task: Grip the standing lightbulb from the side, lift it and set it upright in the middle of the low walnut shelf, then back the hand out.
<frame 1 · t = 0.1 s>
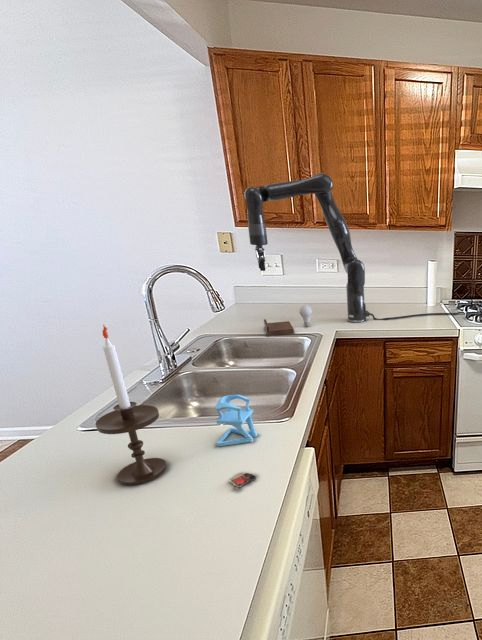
hand: (262, 269, 189), 29 cm above the table, tool pointing down, fingers open, 8 cm apart
candlestick: (143, 473, 90), on the table
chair: (239, 439, 104), on the table
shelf: (279, 330, 196), on the table
matchbox: (242, 480, 88), on the table
lightbulb: (307, 326, 204), on the table
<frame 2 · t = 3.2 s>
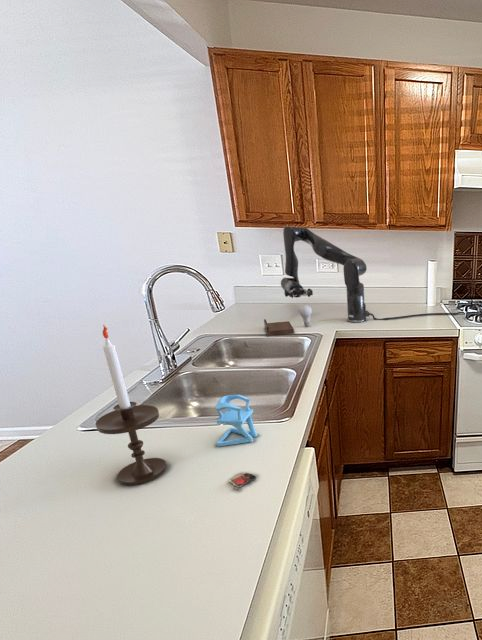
hand: (300, 295, 208), 14 cm above the table, tool horizontal, fingers open, 8 cm apart
nothing on the table moved.
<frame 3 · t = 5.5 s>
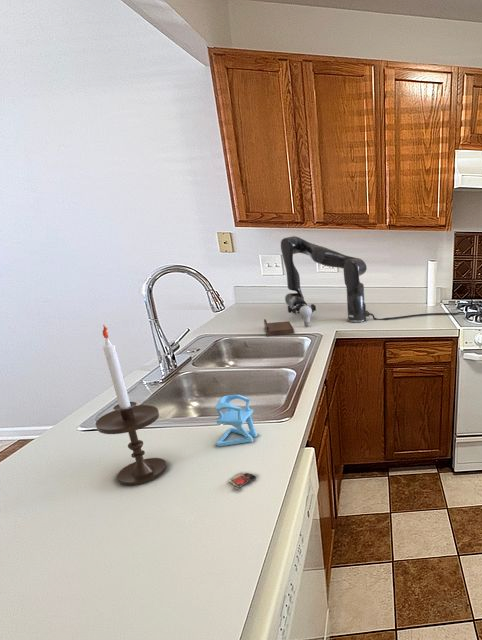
hand: (303, 311, 207), 7 cm above the table, tool horizontal, fingers open, 8 cm apart
nothing on the table moved.
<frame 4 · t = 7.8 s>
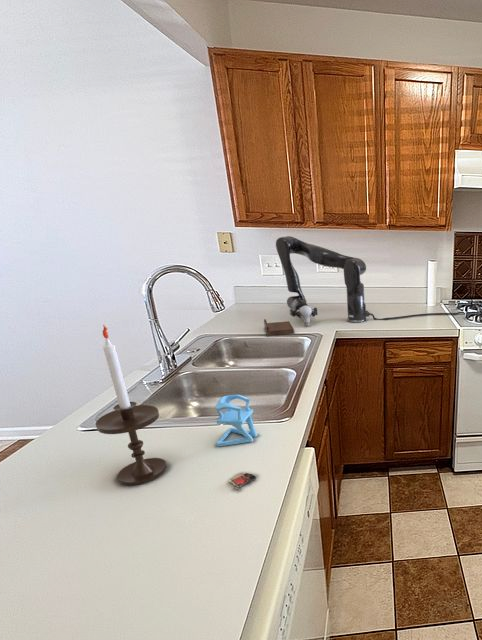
hand: (306, 315, 200), 7 cm above the table, tool horizontal, fingers closed on lightbulb, 6 cm apart
lightbulb: (307, 326, 204), on the table, touching gripper
everything else where it was.
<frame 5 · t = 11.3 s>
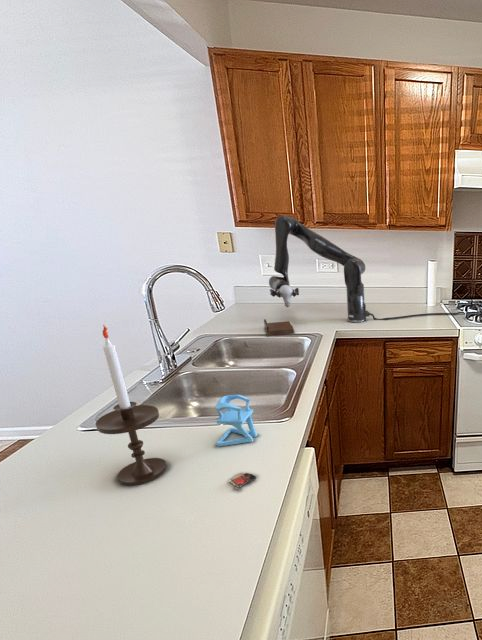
hand: (287, 295, 191), 18 cm above the table, tool horizontal, fingers closed on lightbulb, 6 cm apart
lightbulb: (287, 307, 195), point 11 cm above the table, touching gripper
everything else where it was.
when the fingers open (9 cm above the table, at t = 15.0 s): lightbulb stays where it is, resting on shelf.
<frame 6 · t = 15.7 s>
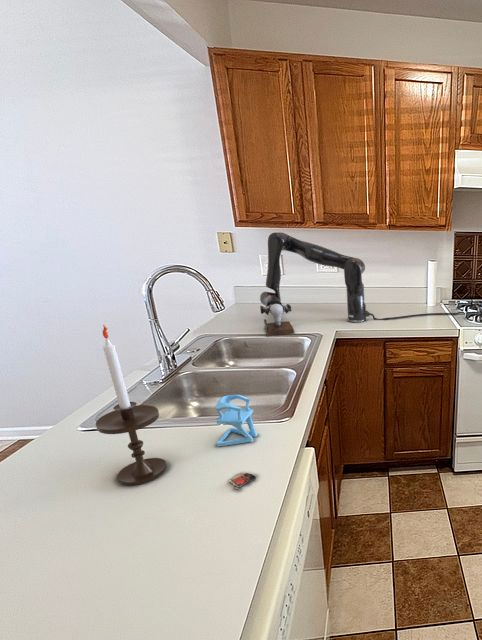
hand: (277, 312, 191), 10 cm above the table, tool horizontal, fingers open, 8 cm apart
lightbulb: (278, 326, 195), point 2 cm above the table, touching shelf
everything else where it was.
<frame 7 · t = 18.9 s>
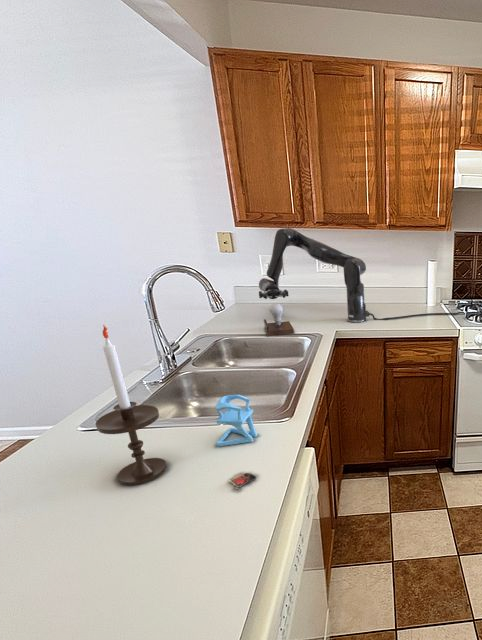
hand: (275, 296, 200), 15 cm above the table, tool horizontal, fingers open, 8 cm apart
nothing on the table moved.
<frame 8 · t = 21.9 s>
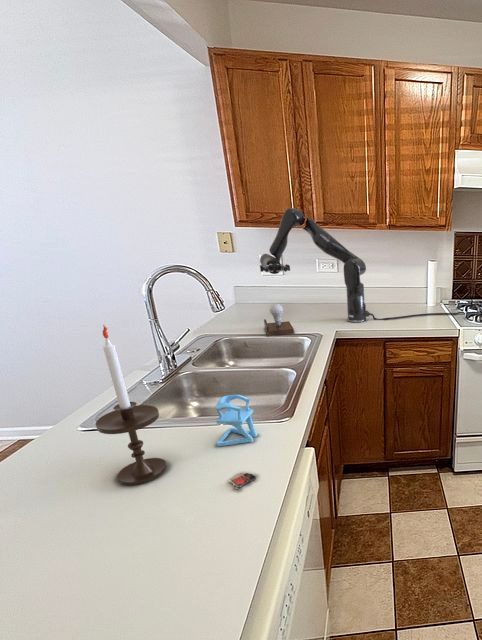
hand: (276, 269, 197), 28 cm above the table, tool horizontal, fingers open, 8 cm apart
nothing on the table moved.
at the end: lightbulb inside the target area (0.3 cm from its centre), point 2.3 cm above the table; lightbulb tilted 0°; the gripper is holding nothing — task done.
